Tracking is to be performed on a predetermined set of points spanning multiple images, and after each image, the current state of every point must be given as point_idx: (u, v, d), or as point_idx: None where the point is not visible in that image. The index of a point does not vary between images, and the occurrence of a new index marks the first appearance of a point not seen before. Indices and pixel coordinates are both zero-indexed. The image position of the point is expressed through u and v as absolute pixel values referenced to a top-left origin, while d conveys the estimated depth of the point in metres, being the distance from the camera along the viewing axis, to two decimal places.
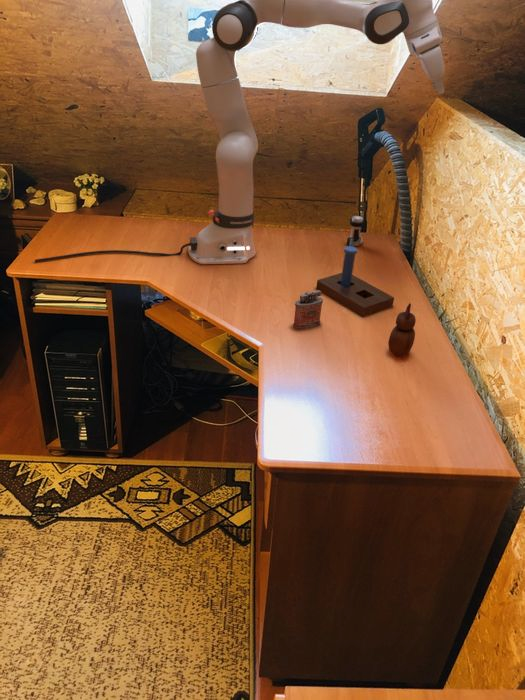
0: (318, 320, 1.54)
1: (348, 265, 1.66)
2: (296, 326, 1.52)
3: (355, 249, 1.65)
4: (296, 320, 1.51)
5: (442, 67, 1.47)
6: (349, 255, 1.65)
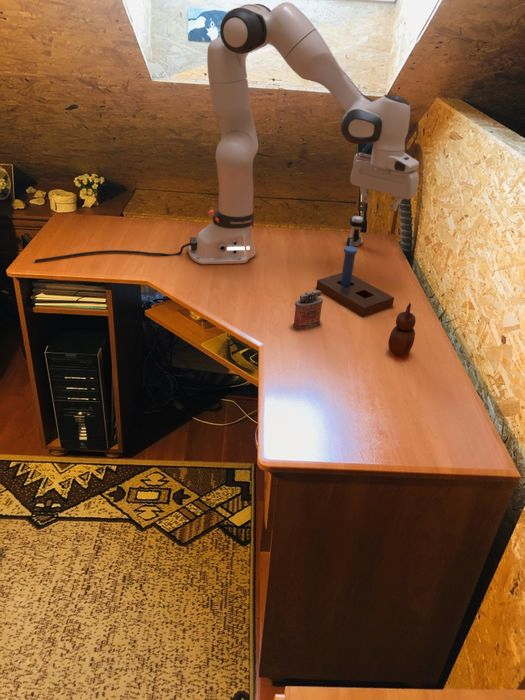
0: (318, 320, 1.54)
1: (348, 265, 1.66)
2: (296, 326, 1.52)
3: (355, 249, 1.65)
4: (296, 320, 1.51)
5: (416, 190, 1.61)
6: (349, 255, 1.65)
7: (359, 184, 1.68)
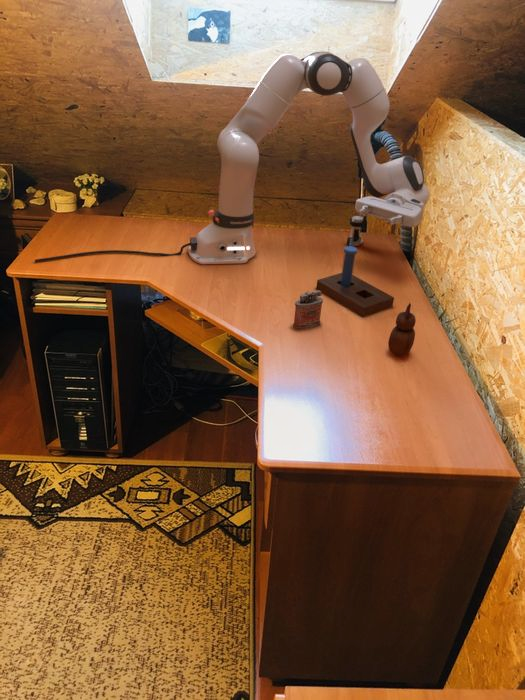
0: (318, 320, 1.54)
1: (348, 265, 1.66)
2: (296, 326, 1.52)
3: (355, 249, 1.65)
4: (296, 320, 1.51)
5: (415, 225, 1.70)
6: (349, 255, 1.65)
7: (366, 202, 1.76)
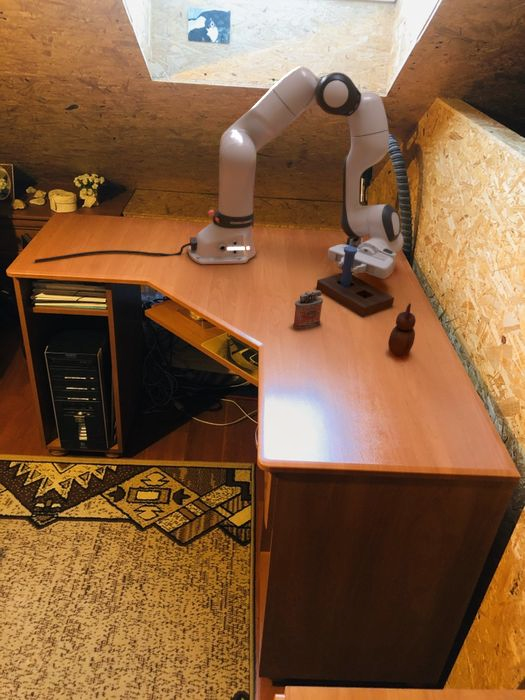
0: (318, 320, 1.54)
1: (348, 265, 1.66)
2: (296, 326, 1.52)
3: (355, 249, 1.65)
4: (296, 320, 1.51)
5: (387, 276, 1.68)
6: (349, 255, 1.65)
7: (338, 251, 1.74)
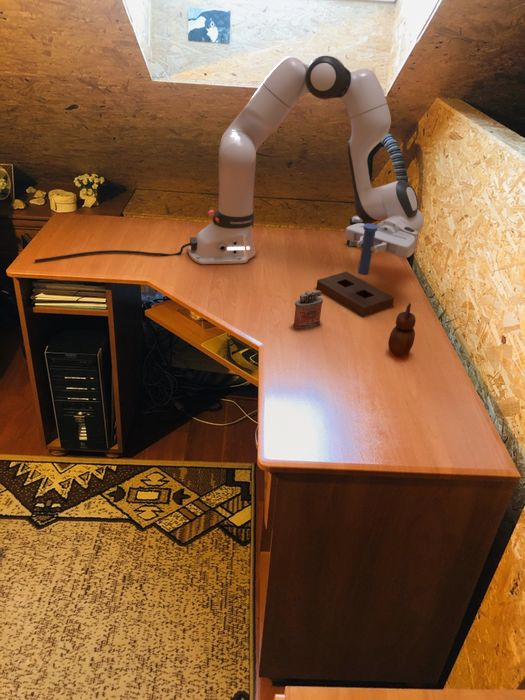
0: (318, 320, 1.54)
1: (368, 243, 1.58)
2: (296, 326, 1.52)
3: (375, 226, 1.56)
4: (296, 320, 1.51)
5: (408, 256, 1.59)
6: (369, 233, 1.56)
7: (356, 230, 1.65)
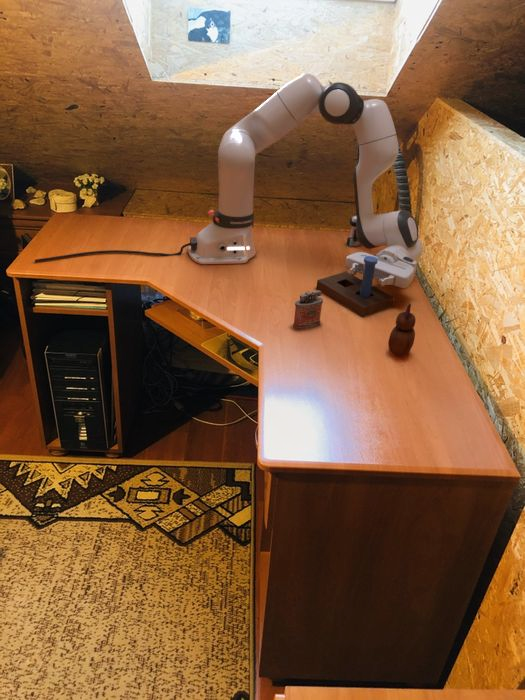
0: (318, 320, 1.54)
1: (368, 275, 1.61)
2: (296, 326, 1.52)
3: (375, 259, 1.60)
4: (296, 320, 1.51)
5: (407, 286, 1.63)
6: (369, 265, 1.59)
7: (356, 259, 1.68)
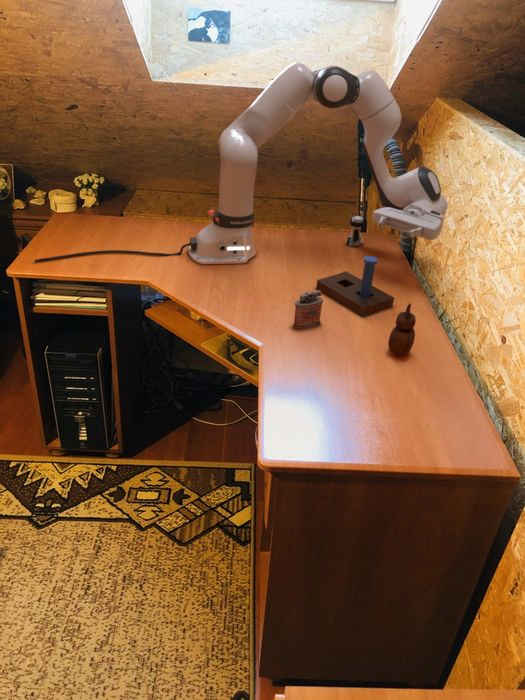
0: (318, 320, 1.54)
1: (368, 275, 1.61)
2: (296, 326, 1.52)
3: (375, 259, 1.60)
4: (296, 320, 1.51)
5: (435, 238, 1.66)
6: (369, 265, 1.59)
7: (384, 213, 1.71)
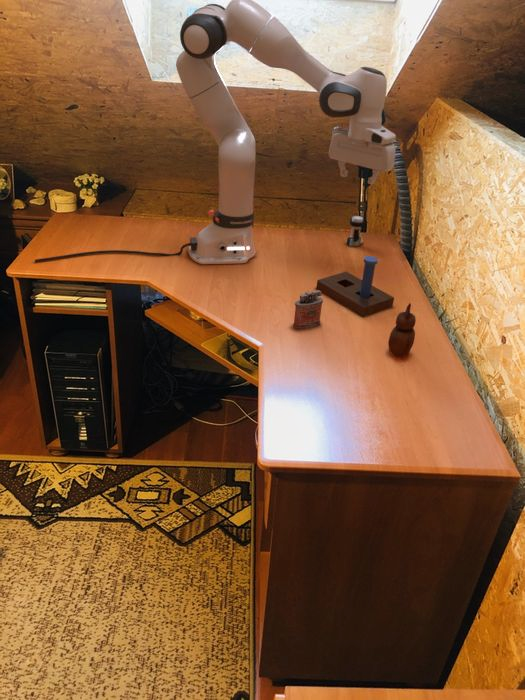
0: (318, 320, 1.54)
1: (368, 275, 1.61)
2: (296, 326, 1.52)
3: (375, 259, 1.60)
4: (296, 320, 1.51)
5: (393, 163, 1.63)
6: (369, 265, 1.59)
7: (337, 158, 1.69)
